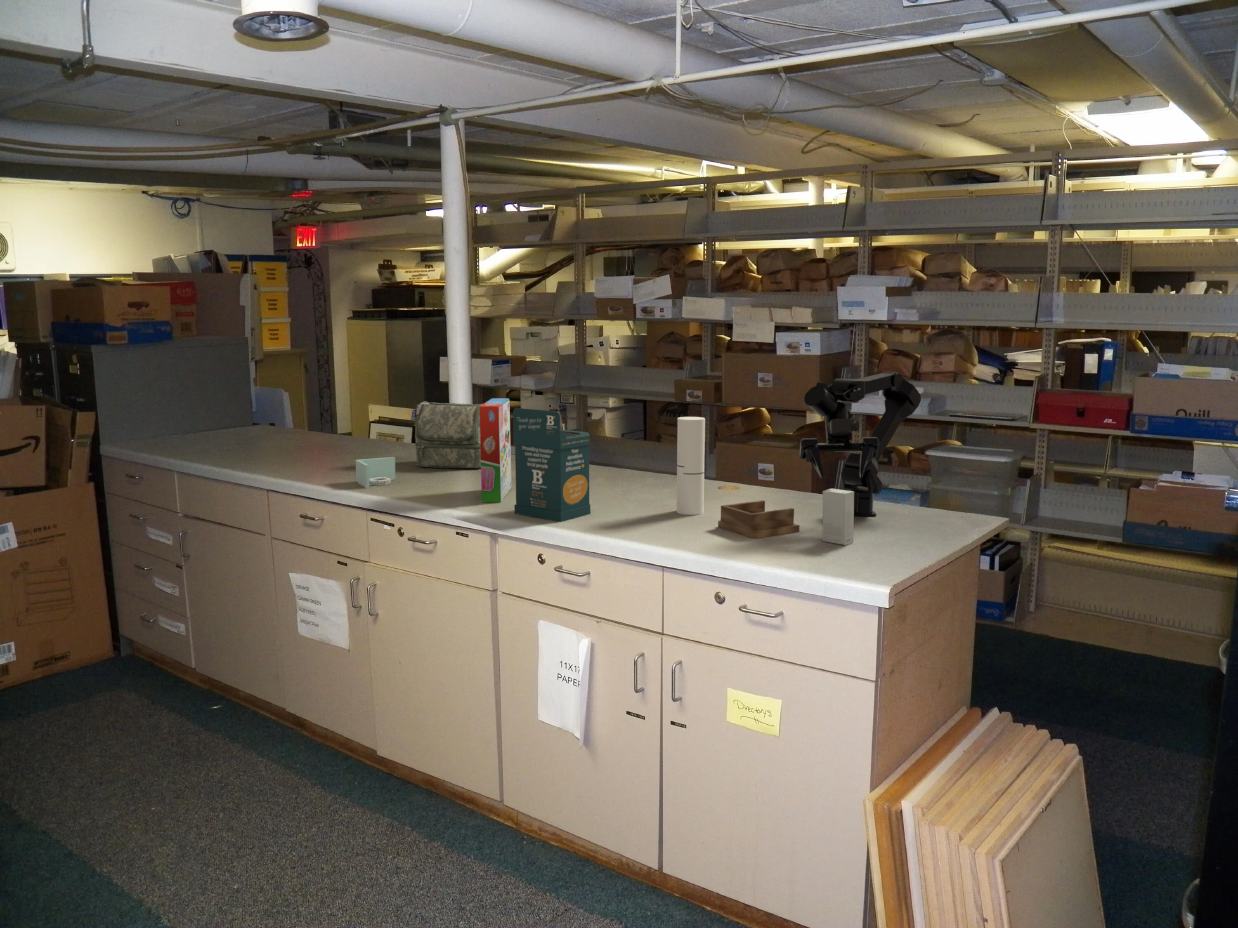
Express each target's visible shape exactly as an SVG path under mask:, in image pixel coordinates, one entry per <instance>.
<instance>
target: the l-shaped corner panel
mask: <svg viewBox="0 0 1238 928" xmlns="http://www.w3.org/2000/svg"><path fill="white" fill-rule="evenodd" d="M355 475H356V483H357V482H358V483H357V484H359V485H360V486H361V487H363V488H365V489H370V486H378V487H381V486H387V485H390V484H391V482H392V480H393V481H394V480H396V458H395V456H389V457H388V456H387V457H377V458H376V457H375V458H365V459H355Z"/></svg>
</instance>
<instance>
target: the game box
mask: <svg viewBox="0 0 1238 928" xmlns="http://www.w3.org/2000/svg"><path fill="white" fill-rule="evenodd" d="M481 404H482V405H481V406H480V407H479V410H480V449H481V468H480V477H481V478H480V479H481V480H480V481H481V484H480V485H481V503H492V504H493V503H497V504H498V503H501V502H502V501H503V500H504V498H505V497H506V496H507V494H508V493H509V491H510V490H511V488H512V461H511V460H512V457H511V456H512V454H511V453H512V451H511V450H512V449H511V419H510V418H511V416H510V414H511V413H510V412H511V411H510V410H511V408H510V398H503V397H501V398H496V397H495V398H493V397H492V398H490V399H489V400H487V401H486V402H484V403H481Z"/></svg>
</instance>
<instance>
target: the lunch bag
mask: <svg viewBox="0 0 1238 928" xmlns="http://www.w3.org/2000/svg"><path fill="white" fill-rule="evenodd" d="M482 404H483V403H481V404H480V403H477V404H472V403H471V404H469V403H455V402H449V403H447V402H445V403H439V402H434V401H433V402H428V401H426V400H425V401H422V402H420V403H419V404H416V405H415V409H412V410H411V411H412V412H411V417H410V418H411V419H410V421H411V422H412V421H414V422H415V423H414V426H415V427H414V440H415V442H414V443H415V444H414V445H415V451H416V452H415V453H416V462H417V463H416V466H417V467H419V468H434V469H437V468H438V469H461V470H464V469H468V470H469V469H471V470H472V469H475V470H476V469H478V470H479V469H481V449H480V410H479V407H480V406H481V405H482Z"/></svg>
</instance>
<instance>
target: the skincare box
mask: <svg viewBox="0 0 1238 928" xmlns="http://www.w3.org/2000/svg"><path fill="white" fill-rule="evenodd" d="M854 516H855V515H854V492H853V491H851V490H847V489H838V488H828V489H826V490H825V489H824V490H823V491H822V541H823V542H826V543H831V544H837V545H844V546H846V545H849V544H852V543H854V528H855V527H854V526H855V525H854V522H855V521H854V520H855V519H854Z"/></svg>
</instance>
